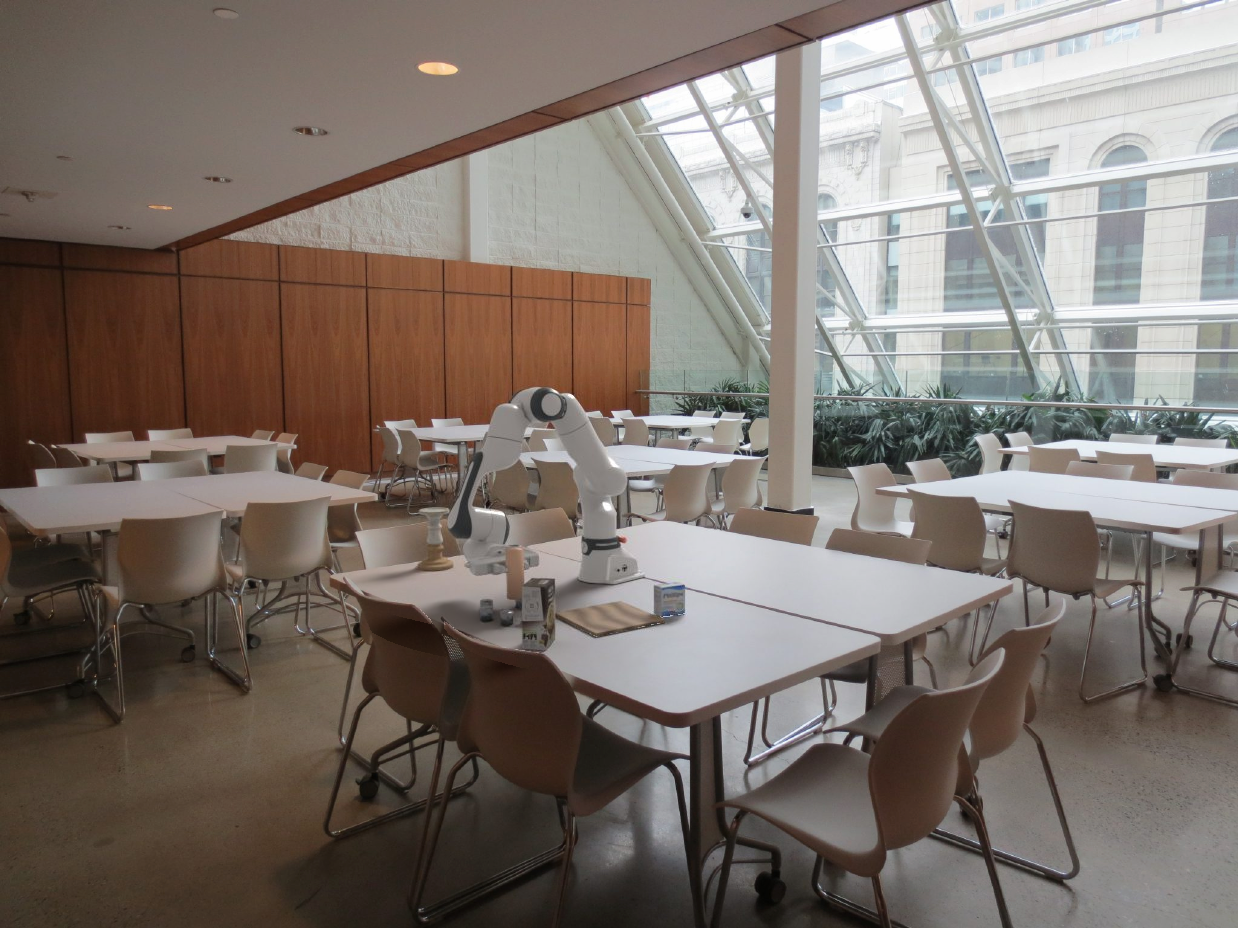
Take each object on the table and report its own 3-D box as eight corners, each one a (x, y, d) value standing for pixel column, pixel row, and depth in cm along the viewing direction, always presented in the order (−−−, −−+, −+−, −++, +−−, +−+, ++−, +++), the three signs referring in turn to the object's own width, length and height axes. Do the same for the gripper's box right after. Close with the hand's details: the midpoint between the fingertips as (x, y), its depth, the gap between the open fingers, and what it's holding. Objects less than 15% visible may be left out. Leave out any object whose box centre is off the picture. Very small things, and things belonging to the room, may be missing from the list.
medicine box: (661, 618, 236) (661, 587, 235) (653, 614, 240) (653, 584, 239) (685, 614, 240) (685, 584, 239) (677, 610, 244) (677, 580, 243)
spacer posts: (533, 602, 251) (533, 591, 251) (564, 618, 236) (564, 605, 235) (468, 613, 240) (468, 601, 239) (496, 630, 224) (496, 617, 224)
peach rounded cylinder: (519, 593, 242) (518, 545, 240) (527, 597, 238) (526, 548, 236) (503, 596, 239) (502, 547, 237) (511, 600, 235) (510, 551, 233)
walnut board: (620, 604, 250) (620, 600, 250) (664, 623, 232) (664, 619, 231) (554, 616, 238) (554, 612, 238) (596, 637, 219) (596, 633, 219)
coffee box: (546, 651, 209) (545, 587, 207) (521, 649, 210) (520, 585, 208) (556, 639, 218) (556, 577, 216) (532, 637, 219) (531, 576, 217)
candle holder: (436, 561, 304) (435, 505, 302) (460, 565, 297) (459, 509, 295) (409, 567, 294) (408, 510, 292) (434, 572, 287) (432, 514, 285)
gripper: (461, 553, 242) (481, 562, 230) (525, 543, 253) (548, 552, 242) (462, 574, 243) (482, 585, 231) (526, 564, 254) (548, 574, 242)
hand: (516, 568), depth 237 cm, fingers closed on peach rounded cylinder, 5 cm apart
